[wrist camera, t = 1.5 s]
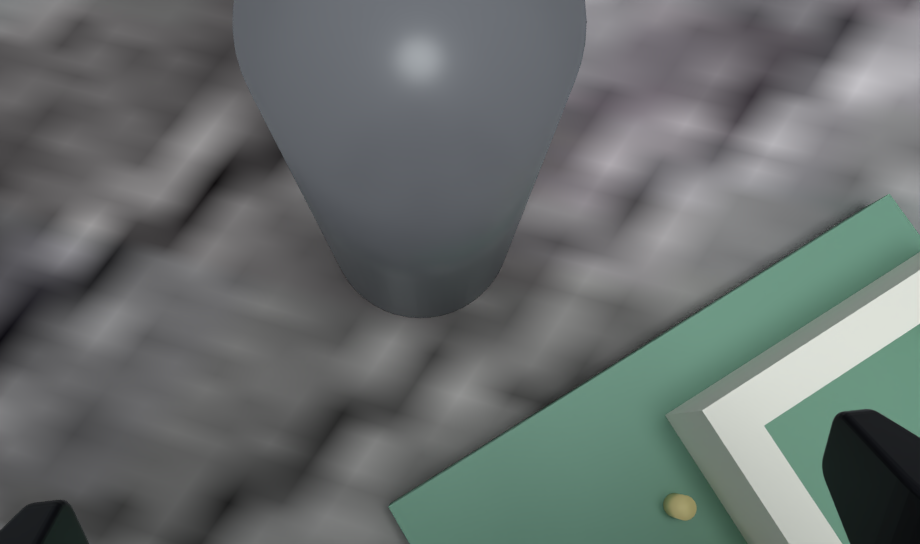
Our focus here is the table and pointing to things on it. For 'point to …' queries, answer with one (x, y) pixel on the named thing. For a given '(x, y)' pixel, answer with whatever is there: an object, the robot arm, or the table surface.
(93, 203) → the table surface
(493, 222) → the plug
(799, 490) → the header board
